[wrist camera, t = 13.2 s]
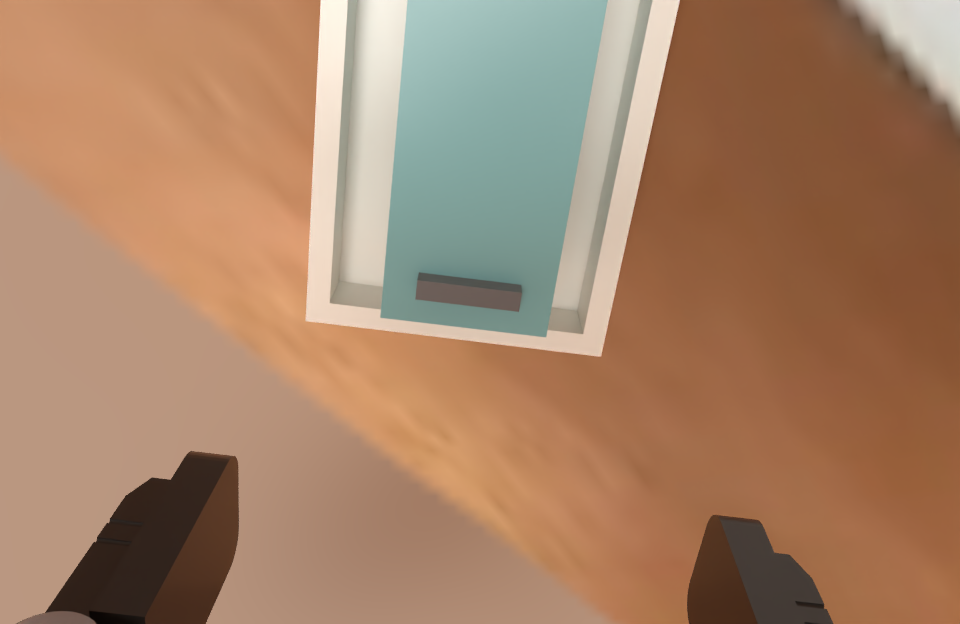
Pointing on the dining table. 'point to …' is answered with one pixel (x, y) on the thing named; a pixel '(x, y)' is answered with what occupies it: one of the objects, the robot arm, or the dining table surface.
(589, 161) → the tray
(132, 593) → the robot arm
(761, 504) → the dining table surface
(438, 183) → the teal box
